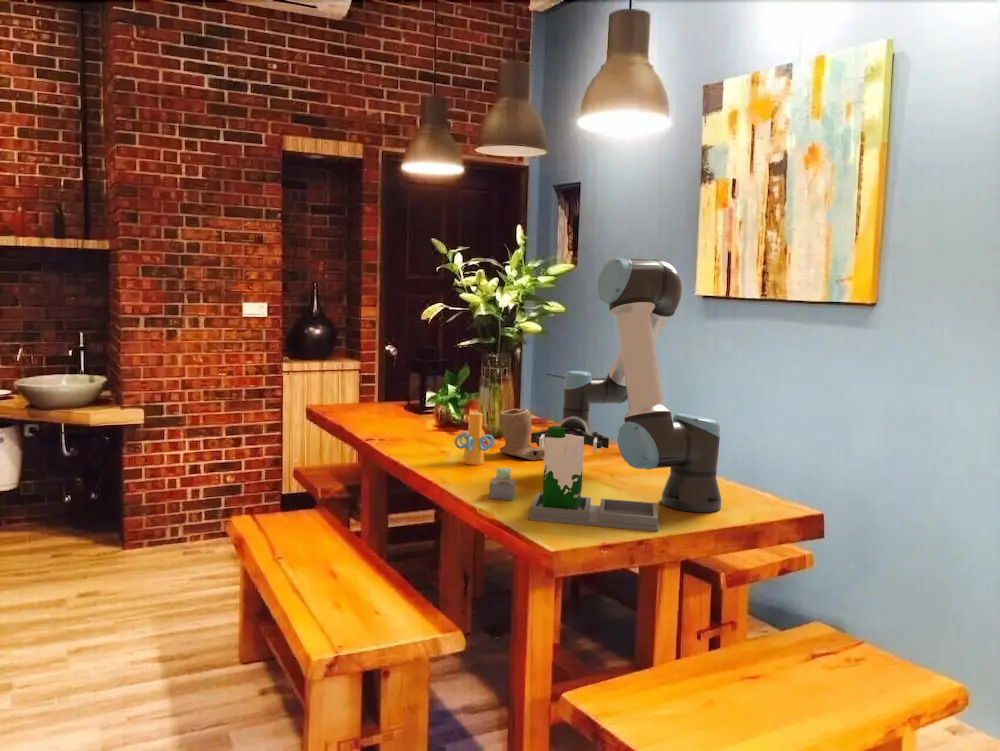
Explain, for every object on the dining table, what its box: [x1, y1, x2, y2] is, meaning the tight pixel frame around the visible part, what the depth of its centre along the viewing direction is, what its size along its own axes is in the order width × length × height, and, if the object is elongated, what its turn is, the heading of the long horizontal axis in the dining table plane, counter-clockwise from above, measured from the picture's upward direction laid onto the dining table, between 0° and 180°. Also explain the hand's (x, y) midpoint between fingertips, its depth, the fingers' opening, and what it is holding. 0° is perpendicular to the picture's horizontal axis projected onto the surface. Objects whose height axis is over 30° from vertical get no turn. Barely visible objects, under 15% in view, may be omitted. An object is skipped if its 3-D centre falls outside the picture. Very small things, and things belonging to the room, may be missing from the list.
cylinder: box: [454, 411, 495, 466], centre depth 263 cm, size 12×10×15 cm
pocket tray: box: [528, 492, 659, 532], centre depth 211 cm, size 30×14×3 cm, turn 81°
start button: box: [495, 467, 512, 480], centre depth 225 cm, size 4×4×2 cm
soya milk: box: [542, 425, 585, 510], centre depth 211 cm, size 9×9×20 cm
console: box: [488, 477, 517, 502], centre depth 226 cm, size 6×6×4 cm
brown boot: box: [498, 408, 545, 461], centre depth 275 cm, size 15×12×15 cm
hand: (567, 445), depth 221 cm, fingers open, 13 cm apart
